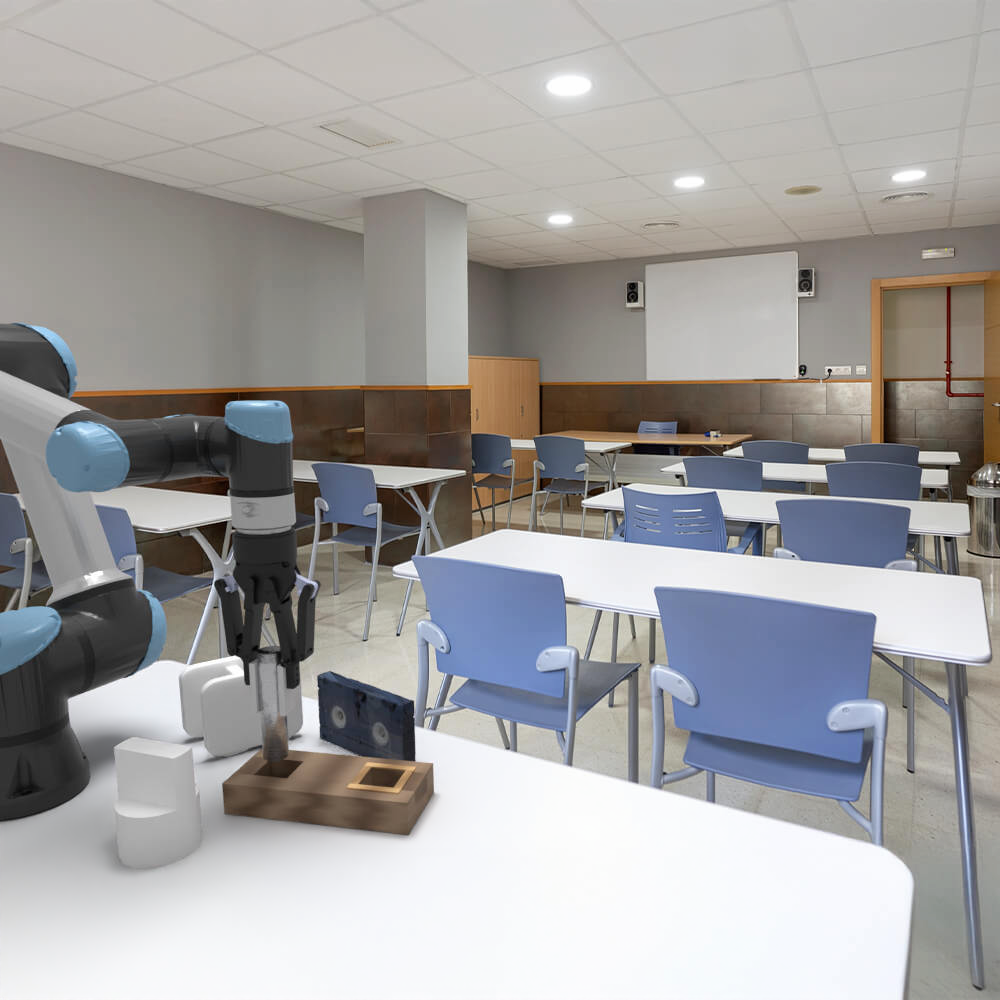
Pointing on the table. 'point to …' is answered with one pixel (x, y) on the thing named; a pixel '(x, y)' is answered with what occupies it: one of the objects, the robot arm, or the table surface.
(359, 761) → the mount block
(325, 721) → the vhs cassette tape
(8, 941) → the table surface
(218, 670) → the cable organizer
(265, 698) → the lock pin
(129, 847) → the cylinder with rectangular tab
